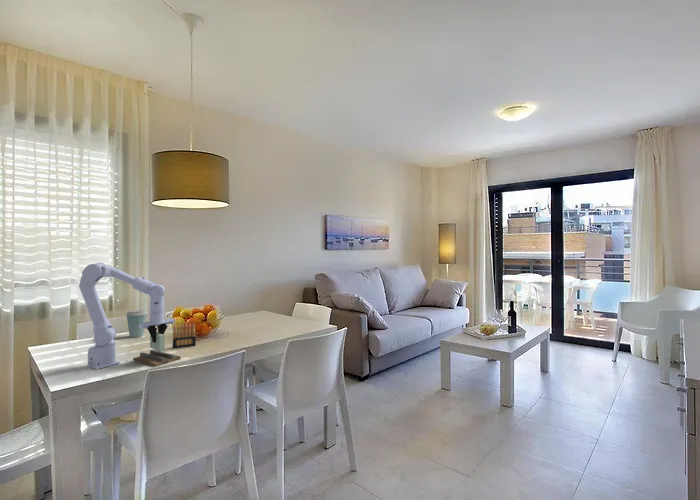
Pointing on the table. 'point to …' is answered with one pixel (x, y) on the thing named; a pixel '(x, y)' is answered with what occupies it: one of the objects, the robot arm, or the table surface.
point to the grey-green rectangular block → (158, 342)
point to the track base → (156, 358)
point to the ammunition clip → (184, 336)
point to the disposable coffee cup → (136, 322)
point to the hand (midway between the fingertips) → (157, 341)
